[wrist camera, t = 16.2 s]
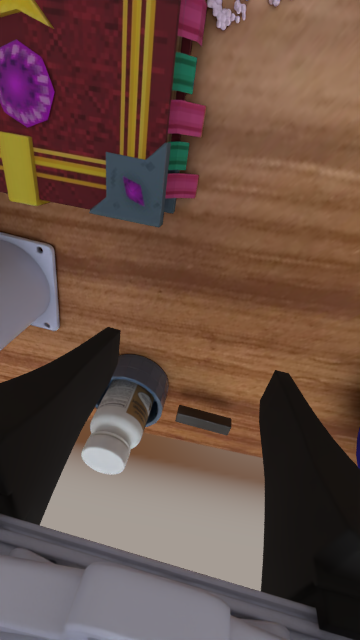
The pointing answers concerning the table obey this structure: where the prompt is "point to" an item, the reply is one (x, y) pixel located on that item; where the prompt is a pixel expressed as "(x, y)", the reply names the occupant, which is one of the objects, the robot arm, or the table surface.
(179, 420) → the dark grey rectangular bar
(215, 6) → the pink molecule models
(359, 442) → the ornament
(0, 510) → the robot arm
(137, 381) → the dark grey open cylinder
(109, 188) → the decorative book
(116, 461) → the pill bottle
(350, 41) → the table surface
